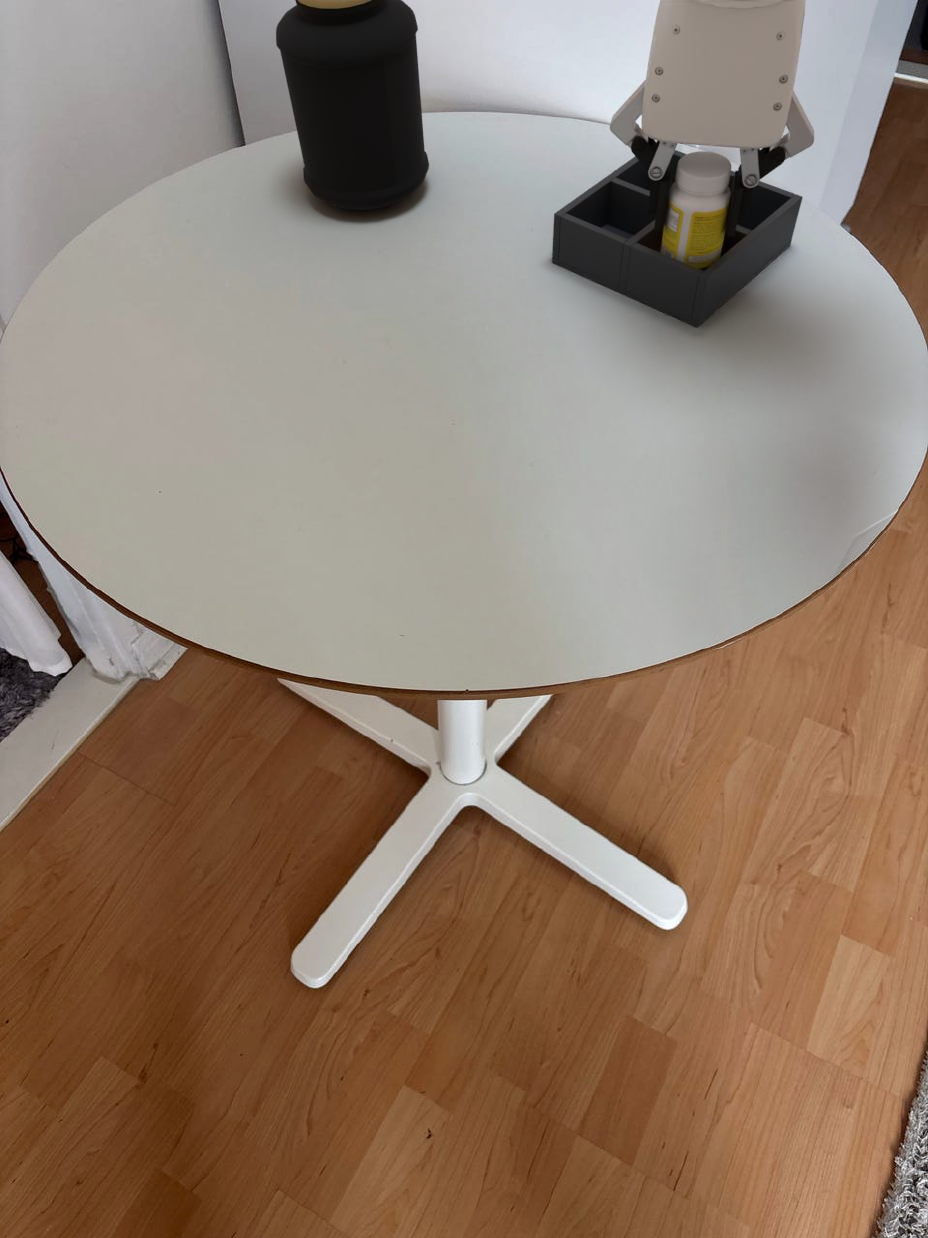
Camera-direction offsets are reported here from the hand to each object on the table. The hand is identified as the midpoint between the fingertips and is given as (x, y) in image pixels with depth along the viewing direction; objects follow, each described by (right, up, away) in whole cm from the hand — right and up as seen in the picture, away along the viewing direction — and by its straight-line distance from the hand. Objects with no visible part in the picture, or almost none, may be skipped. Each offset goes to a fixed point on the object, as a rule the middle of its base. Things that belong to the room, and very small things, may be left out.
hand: (695, 221), depth 77 cm
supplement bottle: (0, -2, +3) cm, 4 cm away
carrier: (0, 0, +8) cm, 8 cm away
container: (-27, +9, +16) cm, 33 cm away
